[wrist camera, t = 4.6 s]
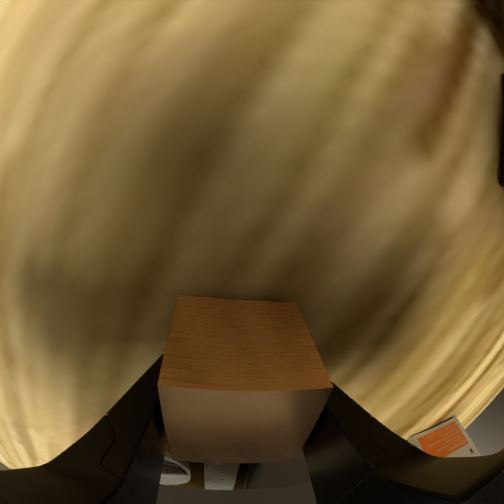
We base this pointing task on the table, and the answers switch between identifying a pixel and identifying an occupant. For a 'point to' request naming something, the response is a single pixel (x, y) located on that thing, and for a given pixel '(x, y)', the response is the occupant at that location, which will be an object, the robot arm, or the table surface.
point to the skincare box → (445, 440)
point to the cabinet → (253, 487)
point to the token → (175, 471)
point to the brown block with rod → (239, 384)
